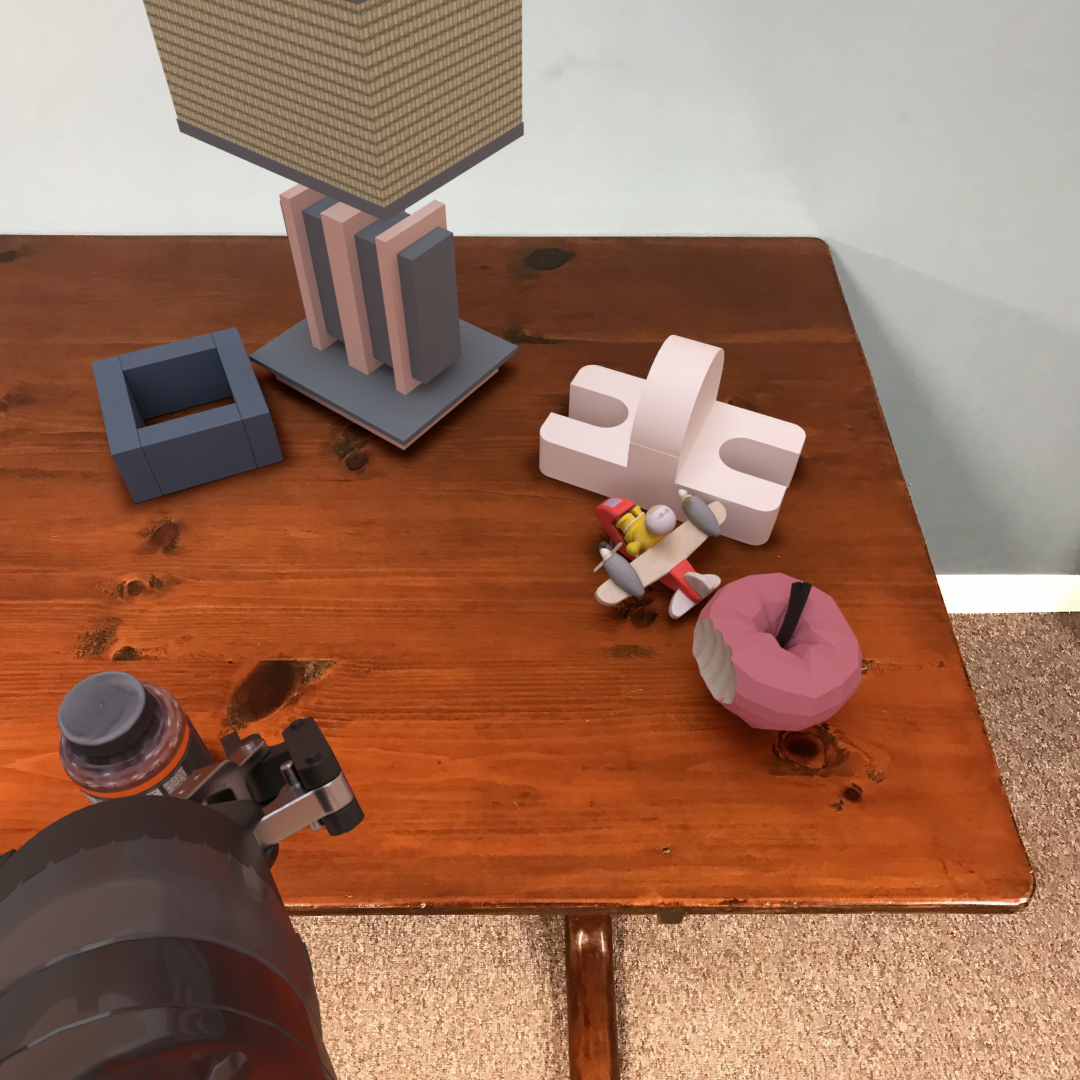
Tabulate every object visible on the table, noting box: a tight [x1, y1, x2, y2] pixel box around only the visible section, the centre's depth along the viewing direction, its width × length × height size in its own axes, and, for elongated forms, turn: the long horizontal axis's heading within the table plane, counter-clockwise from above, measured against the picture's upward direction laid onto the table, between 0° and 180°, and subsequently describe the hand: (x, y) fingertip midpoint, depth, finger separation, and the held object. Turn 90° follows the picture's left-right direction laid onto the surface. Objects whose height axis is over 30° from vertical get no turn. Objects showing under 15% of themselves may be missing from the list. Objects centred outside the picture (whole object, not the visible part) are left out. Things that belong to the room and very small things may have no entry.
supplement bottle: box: [56, 670, 217, 805], centre depth 46 cm, size 6×6×11 cm
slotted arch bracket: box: [538, 334, 807, 546], centre depth 64 cm, size 10×18×11 cm, turn 65°
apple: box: [692, 572, 863, 732], centre depth 52 cm, size 10×9×10 cm
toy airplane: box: [593, 489, 727, 620], centre depth 59 cm, size 9×9×6 cm
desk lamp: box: [142, 0, 525, 451], centre depth 63 cm, size 18×14×33 cm
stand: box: [91, 326, 284, 504], centre depth 68 cm, size 11×11×5 cm
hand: (133, 813), depth 35 cm, fingers open, 8 cm apart
